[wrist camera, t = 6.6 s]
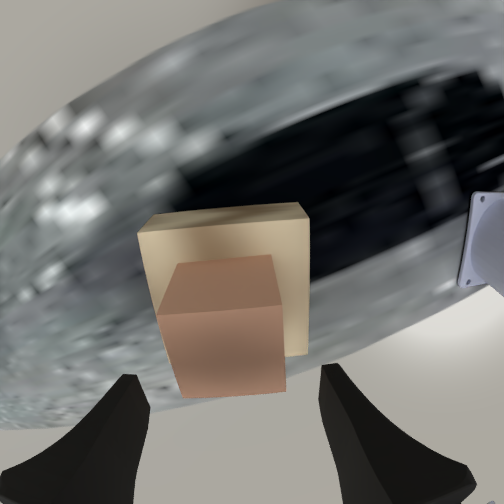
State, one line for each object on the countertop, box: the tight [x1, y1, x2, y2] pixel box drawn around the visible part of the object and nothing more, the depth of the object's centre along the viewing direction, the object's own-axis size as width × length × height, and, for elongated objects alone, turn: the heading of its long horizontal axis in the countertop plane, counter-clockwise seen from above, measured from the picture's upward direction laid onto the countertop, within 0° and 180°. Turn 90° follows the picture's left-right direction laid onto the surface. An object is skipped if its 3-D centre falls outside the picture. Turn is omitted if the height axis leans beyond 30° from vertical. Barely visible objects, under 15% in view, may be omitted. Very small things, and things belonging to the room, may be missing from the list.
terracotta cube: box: [156, 254, 286, 398], centre depth 15 cm, size 5×5×5 cm
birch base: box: [137, 202, 310, 363], centre depth 19 cm, size 9×9×4 cm
